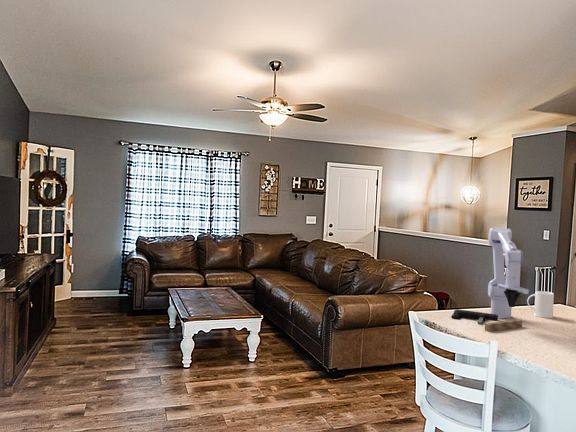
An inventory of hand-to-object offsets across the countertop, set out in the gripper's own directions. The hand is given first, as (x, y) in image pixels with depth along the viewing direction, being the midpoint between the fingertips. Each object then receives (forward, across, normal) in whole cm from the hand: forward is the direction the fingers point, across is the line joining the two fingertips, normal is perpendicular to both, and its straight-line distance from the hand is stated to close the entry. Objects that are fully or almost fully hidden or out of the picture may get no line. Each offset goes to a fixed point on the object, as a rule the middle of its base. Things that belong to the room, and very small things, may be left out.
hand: (511, 306), depth 201 cm
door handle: (+10, -16, -5) cm, 20 cm away
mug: (+10, -10, +35) cm, 38 cm away
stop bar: (+9, 0, -5) cm, 11 cm away
